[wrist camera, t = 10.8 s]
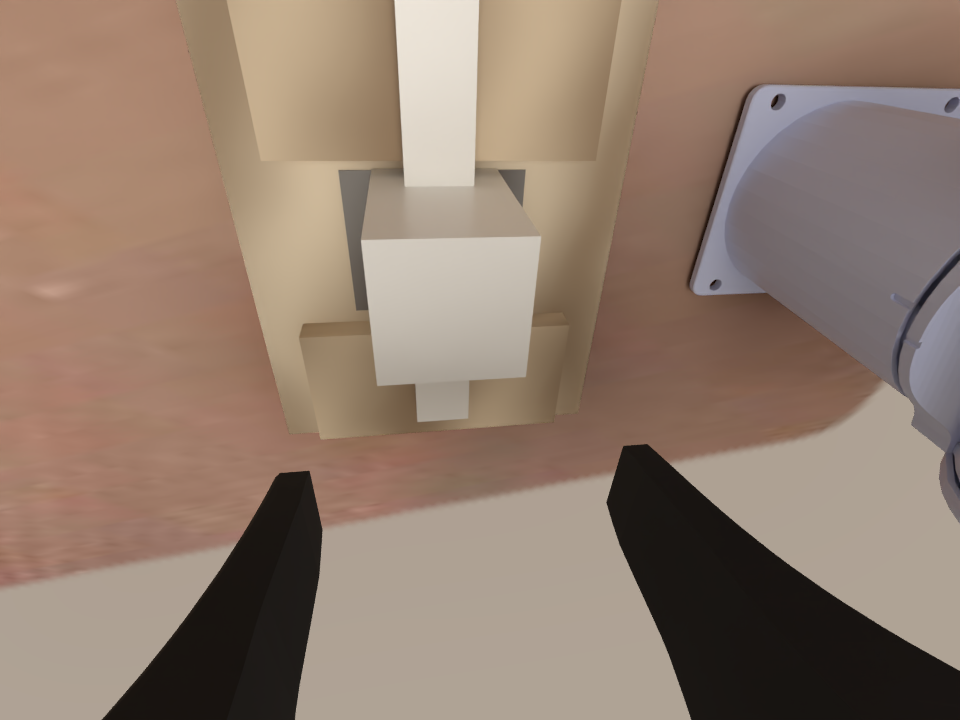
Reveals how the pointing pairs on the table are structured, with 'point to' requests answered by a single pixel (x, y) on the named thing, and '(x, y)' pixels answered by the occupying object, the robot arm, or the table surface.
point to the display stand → (378, 145)
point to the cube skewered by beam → (445, 229)
